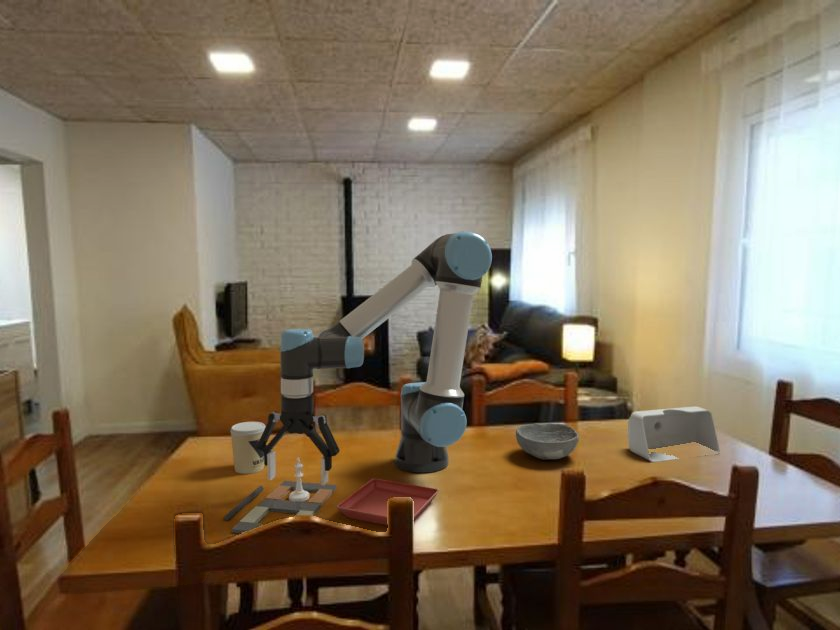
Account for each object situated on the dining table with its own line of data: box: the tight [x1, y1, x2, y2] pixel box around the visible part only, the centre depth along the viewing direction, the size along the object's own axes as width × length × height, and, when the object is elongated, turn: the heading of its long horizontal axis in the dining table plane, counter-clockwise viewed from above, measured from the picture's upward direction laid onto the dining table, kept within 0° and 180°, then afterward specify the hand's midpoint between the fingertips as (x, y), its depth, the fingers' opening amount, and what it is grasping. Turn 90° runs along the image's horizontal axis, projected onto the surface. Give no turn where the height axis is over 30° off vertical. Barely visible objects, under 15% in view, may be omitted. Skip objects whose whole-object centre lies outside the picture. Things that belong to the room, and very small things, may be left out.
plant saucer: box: [336, 478, 440, 526], centre depth 126 cm, size 18×18×3 cm
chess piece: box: [288, 457, 311, 502], centre depth 132 cm, size 5×5×10 cm
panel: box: [231, 480, 337, 534], centre depth 126 cm, size 14×26×1 cm, turn 169°
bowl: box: [515, 422, 580, 461], centre depth 160 cm, size 18×18×8 cm
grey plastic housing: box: [627, 405, 721, 463], centre depth 166 cm, size 25×16×12 cm, turn 106°
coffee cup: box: [229, 421, 266, 475], centre depth 150 cm, size 9×9×12 cm
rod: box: [223, 485, 264, 521], centre depth 128 cm, size 17×1×1 cm, turn 169°
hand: (297, 480), depth 132 cm, fingers open, 13 cm apart
